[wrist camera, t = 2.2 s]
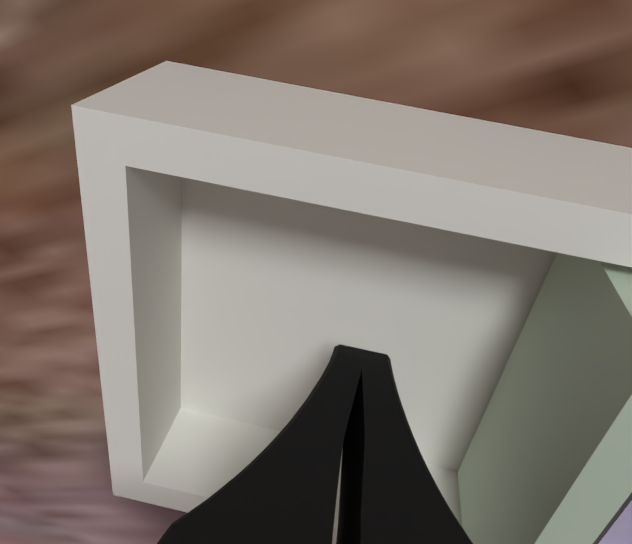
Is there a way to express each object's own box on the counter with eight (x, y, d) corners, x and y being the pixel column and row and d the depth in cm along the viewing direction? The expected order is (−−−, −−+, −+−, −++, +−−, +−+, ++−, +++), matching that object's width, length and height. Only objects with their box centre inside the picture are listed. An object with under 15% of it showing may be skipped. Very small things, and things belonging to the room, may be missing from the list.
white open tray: (638, 149, 13) (730, 233, 9) (485, 462, 19) (502, 587, 16) (166, 60, 14) (71, 105, 10) (169, 391, 20) (113, 494, 16)
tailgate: (643, 230, 12) (764, 380, 8) (506, 483, 17) (535, 657, 13) (573, 216, 12) (655, 357, 8) (457, 472, 17) (470, 641, 13)
